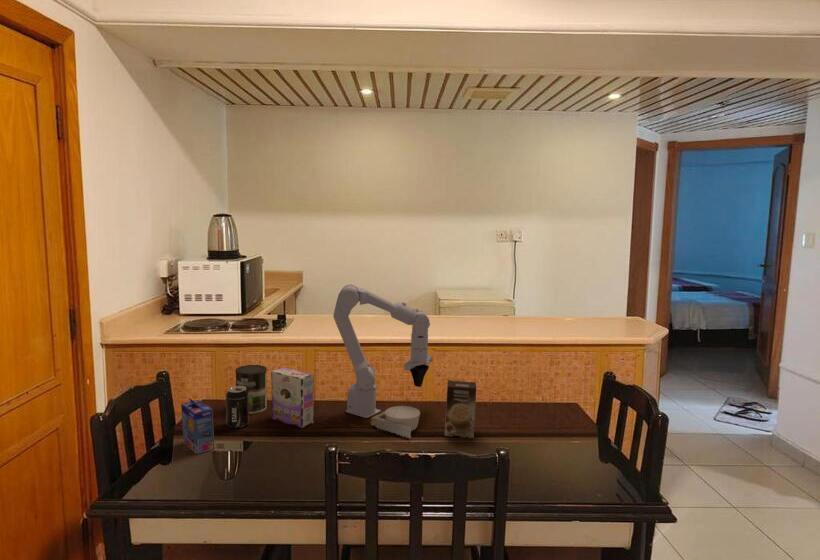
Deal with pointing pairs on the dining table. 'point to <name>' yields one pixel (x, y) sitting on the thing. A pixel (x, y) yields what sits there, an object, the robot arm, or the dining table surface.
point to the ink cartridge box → (197, 426)
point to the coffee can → (254, 385)
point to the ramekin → (403, 416)
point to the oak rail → (381, 415)
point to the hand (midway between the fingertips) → (418, 386)
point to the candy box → (292, 397)
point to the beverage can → (237, 407)
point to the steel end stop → (393, 427)
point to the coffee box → (460, 409)
